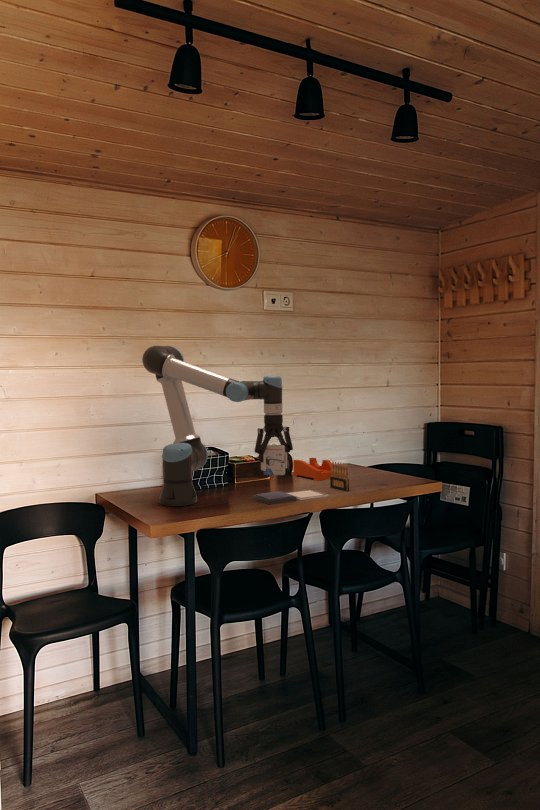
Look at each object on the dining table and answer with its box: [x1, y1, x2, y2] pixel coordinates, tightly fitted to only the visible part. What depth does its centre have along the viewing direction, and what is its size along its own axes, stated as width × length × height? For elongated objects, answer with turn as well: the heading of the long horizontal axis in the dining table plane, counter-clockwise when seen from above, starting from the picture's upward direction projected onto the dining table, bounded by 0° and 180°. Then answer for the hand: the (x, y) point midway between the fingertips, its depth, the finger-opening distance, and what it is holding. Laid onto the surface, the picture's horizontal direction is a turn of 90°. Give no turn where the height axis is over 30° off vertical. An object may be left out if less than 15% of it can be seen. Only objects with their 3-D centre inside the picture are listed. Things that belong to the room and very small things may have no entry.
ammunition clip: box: [329, 461, 350, 492], centre depth 279 cm, size 11×2×12 cm, turn 34°
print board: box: [285, 489, 330, 501], centre depth 266 cm, size 14×14×1 cm
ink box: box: [263, 444, 286, 476], centre depth 258 cm, size 9×5×12 cm, turn 84°
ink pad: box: [252, 490, 297, 505], centre depth 259 cm, size 13×13×2 cm
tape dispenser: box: [292, 457, 332, 482], centre depth 310 cm, size 18×13×8 cm
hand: (274, 469), depth 258 cm, fingers closed on ink box, 9 cm apart
